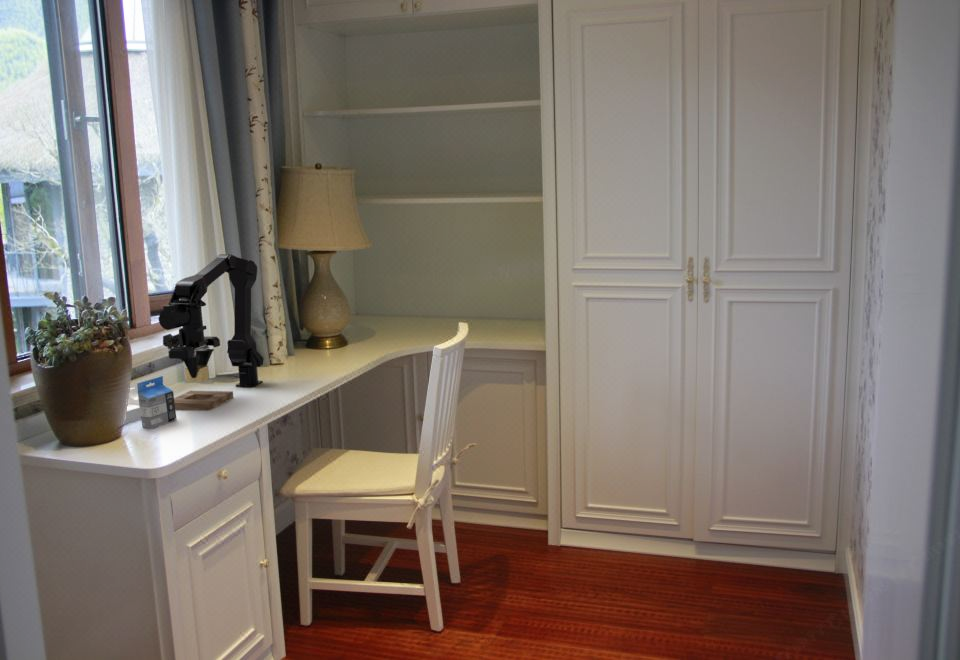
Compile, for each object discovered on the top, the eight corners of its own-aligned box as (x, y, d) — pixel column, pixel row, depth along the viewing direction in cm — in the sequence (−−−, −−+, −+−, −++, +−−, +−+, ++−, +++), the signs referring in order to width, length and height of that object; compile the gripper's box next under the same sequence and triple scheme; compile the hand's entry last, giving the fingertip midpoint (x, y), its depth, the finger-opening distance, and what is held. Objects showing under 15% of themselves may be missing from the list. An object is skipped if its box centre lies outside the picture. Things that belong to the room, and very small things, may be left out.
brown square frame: (191, 396, 262) (190, 390, 262) (233, 397, 259) (232, 391, 259) (165, 409, 249) (164, 402, 248) (209, 410, 246) (208, 403, 245)
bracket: (135, 413, 247) (133, 387, 245) (153, 415, 243) (150, 389, 242) (96, 425, 236) (93, 398, 234) (114, 428, 232) (111, 401, 231)
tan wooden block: (194, 378, 255) (192, 365, 254) (209, 378, 254) (208, 365, 253) (186, 381, 251) (185, 368, 251) (202, 382, 250) (201, 368, 249)
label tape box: (151, 429, 229) (147, 384, 227) (141, 427, 231) (136, 383, 228) (177, 420, 237) (172, 376, 234) (166, 419, 238) (162, 375, 236)
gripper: (184, 318, 260) (189, 368, 263) (148, 329, 242) (154, 383, 245) (218, 318, 258) (223, 369, 261) (184, 329, 240) (190, 384, 243)
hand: (197, 376), depth 252 cm, fingers closed on tan wooden block, 4 cm apart
